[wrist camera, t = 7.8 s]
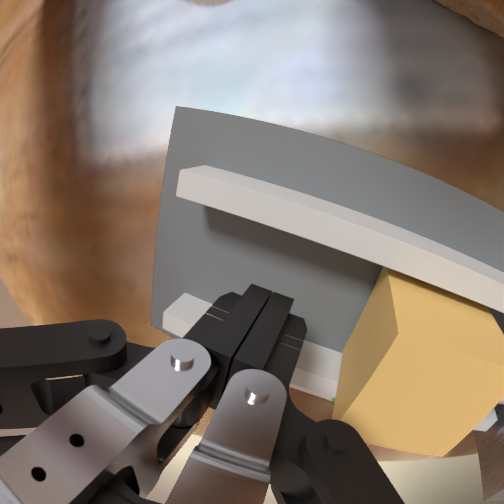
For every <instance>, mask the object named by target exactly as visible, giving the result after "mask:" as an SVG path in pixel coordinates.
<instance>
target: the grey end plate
mask: <svg viewBox="0 0 504 504" xmlns="http://www.w3.org/2000/svg"><path fill="white" fill-rule="evenodd" d="M494 409H495V413H496V416H497V421H496V422H495V423H494V424H493V425H492V426H491V427H490V428H489V429H488V430H487V431H478V430H474V433H475V438H476V443H477V449H478V455H479V462H480V469H481V477H482V487H483V500H484V502H488V501H498V500H504V404H497V405H496V406H495V407H494Z"/></svg>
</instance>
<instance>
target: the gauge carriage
mask: <svg viewBox="0 0 504 504" xmlns="http://www.w3.org/2000/svg"><path fill="white" fill-rule="evenodd" d="M497 404H504V334H503V333H502V331H501V329H500V327H499V326H498V324H497V322H496V321H495V319H494V317H493V316H492V314H491V313H490V311H489V309H488V308H487V306H485V305H483V304H481V303H478V302H476V301H473V300H471V299H468V298H466V297H463V296H461V295H458V294H456V293H453V292H451V291H448V290H445V289H443V288H440V287H438V286H435V285H433V284H430V283H427V282H425V281H422V280H420V279H417V278H414V277H412V276H409V275H406V274H404V273H401V272H398V271H396V270H393V269H390V268H388V267H385V266H383V268H382V270H381V273H380V275H379V277H378V280H377V282H376V284H375V286H374V288H373V291H372V293H371V295H370V297H369V299H368V301H367V304H366V306H365V308H364V310H363V312H362V314H361V316H360V318H359V320H358V322H357V324H356V326H355V328H354V330H353V332H352V334H351V336H350V338H349V339H348V341H347V343H346V345H345V347H344V349H343V352H342V360H341V367H340V373H339V380H338V386H337V392H336V398H335V404H334V409H333V414H332V419H334V420H340V421H343V422H345V423H347V424H349V425H351V426H352V427H353V428H354V429H355V430H356V431H357V432H358V433H359V434H360V436H361V437H362V439H363V440H364V442H365V443H367V444H371V445H376V446H380V447H385V448H390V449H395V450H401V451H406V452H412V453H418V454H425V455H433V456H441V457H443V456H444V455H445V454H447V453H448V452H449V451H450V450H451V449H452V448H454V447H455V446H456V445H457V444H458V443H459V442H460V441H461V440H462V439H464V438H465V437H466V436H467V435H468V434H469V433H470V432H471V431H472V430H473V429H474V428H475V427H476V426H477V425H478V424H479V423H480V422H481V421H482V420H483V419H484V418H485V417H486V416H487V415H488V414H489V413H490V412H491V410H492V409H493V408H494V407H495V406H496V405H497Z"/></svg>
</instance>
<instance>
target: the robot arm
mask: <svg viewBox="0 0 504 504" xmlns="http://www.w3.org/2000/svg"><path fill="white" fill-rule="evenodd" d="M293 302H294V299H293V298H290V297H288V296H285V295H282V294H279V293H277V292H273V294H272V291H271V290H268V289H265V288H263V287H260V286H257V285H255V284H251V285H250V286H249V287H248V289H247V290H246V291H245V292H244V294H243V295H239V294H237V293H234V292H229V293H227V294H225V295H222V296H220V297H219V298H218V299H217V300H216V301H215V302H214V303H213V304H212V307H210V308H209V309H208V310H207V311H206V313H205V314H203V316H202V317H201V318H200V319H199V320H198V321H197V322H196V323H195V324H194V326H193V327H192V328H191V329H190V330H189V331H188V332H187V333H186V334H185V336H184V337H183V338H182V339H180V338H179V339H170V340H167V341H165V342H163V343H161V344H160V345H159V346H158V347H157V348H151V347H146V346H142V345H138V344H134V343H130V342H126V334H125V332H124V330H123V329H122V327H120V326H119V325H118V324H116V323H114V322H112V321H109V320H102V319H98V320H88V321H79V322H70V323H60V324H50V325H39V326H27V327H16V328H15V327H14V328H2V329H0V429H18V428H34V427H37V428H36V429H34V430H33V431H32V432H30V433H29V434H28V435H19V436H4V437H0V504H161V503H157V502H154V501H150V500H147V499H145V498H146V497H147V495H148V494H149V493H150V492H151V491H152V489H153V488H154V487H155V485H156V483H157V482H158V480H159V477H160V475H161V473H162V471H163V470H164V468H165V467H166V466H167V465H168V463H169V462H170V461H171V460H172V458H173V457H174V456H175V455H176V453H177V452H178V451H179V449H180V448H181V447H182V446H183V445H184V443H185V442H186V441H187V440H188V438H189V437H190V435H191V434H192V433H193V432H194V431H195V429H196V428H197V426H198V425H199V422H200V419H201V418H202V417H203V415H204V413H205V412H206V410H207V409H208V407H210V408H213V409H215V412H214V415H213V417H212V419H211V421H210V423H209V425H208V427H207V429H206V431H205V433H204V435H203V437H202V440H201V441H200V443H199V445H198V446H196V447H195V448H194V450H193V451H192V453H191V455H190V456H189V458H188V460H187V462H186V464H185V466H184V468H183V470H182V472H181V474H180V476H179V478H178V480H177V482H176V484H175V486H174V488H173V489H172V492H171V493H170V495H169V497H168V499H167V501H166V503H165V504H263V502H264V499H265V496H266V492H267V489H268V485H269V484H271V489H272V492H273V494H274V496H275V498H276V501H277V503H278V504H404V502H403V500H402V499H401V498H400V496H399V494H398V493H397V491H396V490H395V488H394V487H393V485H392V484H391V482H390V481H389V479H388V477H387V476H386V474H385V473H384V472H383V470H382V468H381V467H380V465H379V464H378V462H377V461H376V459H375V457H374V456H373V454H372V453H371V451H370V450H369V448H368V447H367V445H366V444H365V442H364V440H363V439H362V437H361V436H360V434H359V433H358V432H357V431H356V430H355V429H354V428H353V427H352V426H351V425H349V424H347V423H345V422H343V421H340V420H334V419H326V420H322V421H319V422H317V423H316V422H315V421H313V420H312V419H310V418H309V417H307V416H306V415H304V414H303V413H301V412H300V411H299V410H298V409H297V408H296V407H295V405H294V404H293V402H292V401H291V398H290V396H289V385H290V382H291V379H292V376H293V373H294V370H295V367H296V364H297V361H298V358H299V355H300V352H301V349H302V346H303V343H304V339H305V336H306V333H307V326H306V323H305V320H304V318H301V317H298V316H296V315H293V314H290V311H291V308H292V305H293ZM81 374H82V375H83V376H79V377H72V378H63V379H54V380H47V379H46V378H56V377H65V376H73V375H81Z"/></svg>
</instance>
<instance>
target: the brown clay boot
mask: <svg viewBox="0 0 504 504" xmlns="http://www.w3.org/2000/svg"><path fill="white" fill-rule="evenodd" d="M434 1H436V2H438V3H440V4H441V5H443V6H445V7H446V8H448V9H449V10H451V11H453V12H456V13H458V14H460V15H462V16H465V17H467V18H469V19H470V20H471V21H472V22H473V23H475V24H477V25H479V26H482V27H484V28H486V29H488V30H490V31H492V32H494V33H496V34H498V35H500V36H501V37H503V38H504V0H434Z"/></svg>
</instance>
